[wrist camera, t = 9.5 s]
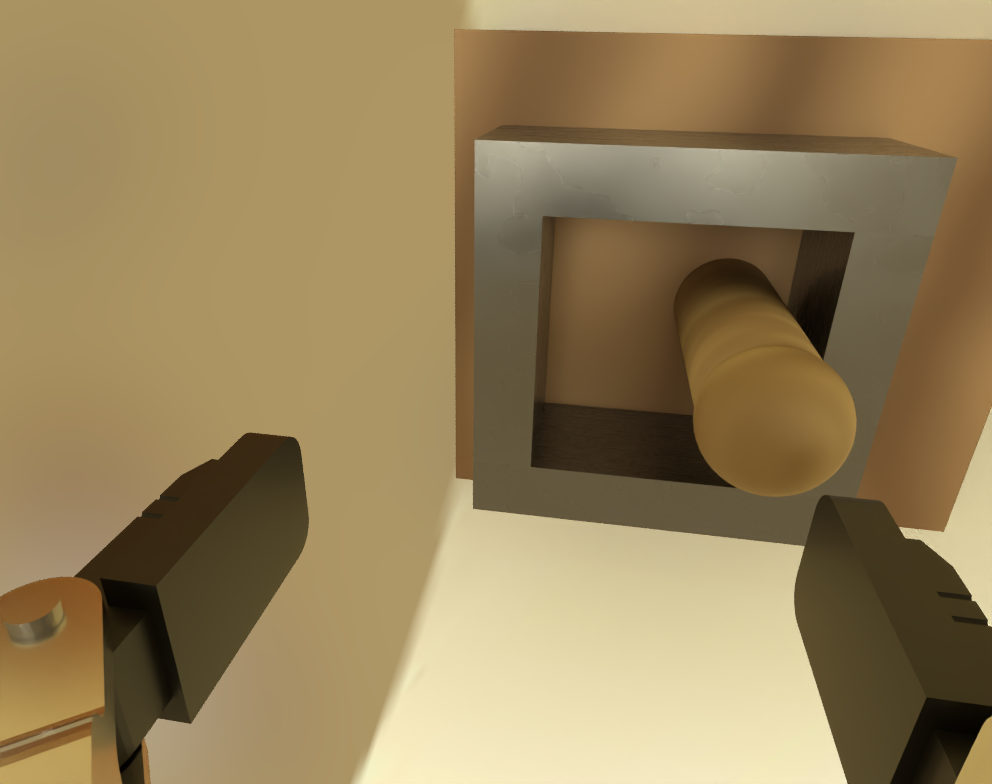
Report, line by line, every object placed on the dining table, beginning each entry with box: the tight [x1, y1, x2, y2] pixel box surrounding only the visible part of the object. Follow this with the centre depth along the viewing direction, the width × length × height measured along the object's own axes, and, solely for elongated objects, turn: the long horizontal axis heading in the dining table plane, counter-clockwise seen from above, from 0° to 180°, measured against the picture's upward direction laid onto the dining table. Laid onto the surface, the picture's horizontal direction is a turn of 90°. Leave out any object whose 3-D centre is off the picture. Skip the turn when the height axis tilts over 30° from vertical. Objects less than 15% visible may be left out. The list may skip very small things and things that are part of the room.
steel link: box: [473, 125, 958, 546], centre depth 19 cm, size 10×10×4 cm
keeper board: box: [454, 29, 992, 532], centre depth 17 cm, size 16×14×10 cm
